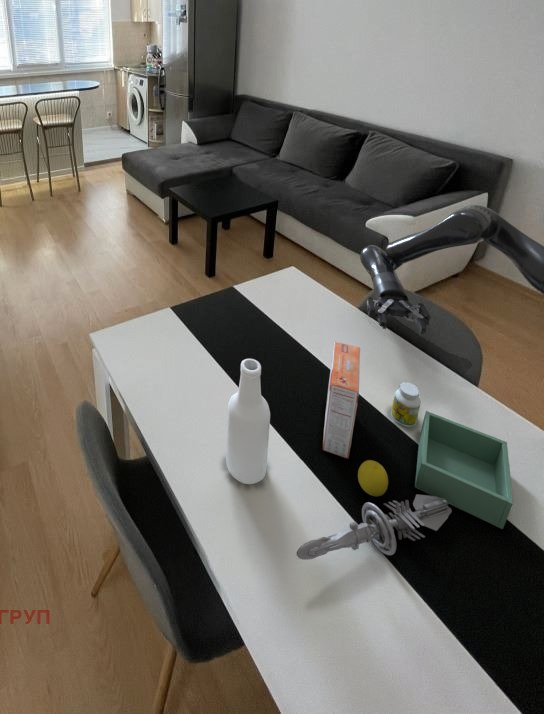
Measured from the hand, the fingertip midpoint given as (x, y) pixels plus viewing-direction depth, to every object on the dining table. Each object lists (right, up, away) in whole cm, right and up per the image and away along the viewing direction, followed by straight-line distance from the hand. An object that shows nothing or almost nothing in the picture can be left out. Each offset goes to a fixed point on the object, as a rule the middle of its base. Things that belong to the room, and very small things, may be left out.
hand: (403, 329), depth 109 cm
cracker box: (-20, -23, -5) cm, 31 cm away
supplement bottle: (-2, -21, -3) cm, 21 cm away
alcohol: (-43, -27, -12) cm, 52 cm away
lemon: (-18, -28, -18) cm, 38 cm away
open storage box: (+1, -26, -17) cm, 31 cm away
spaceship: (-22, -32, -27) cm, 47 cm away
